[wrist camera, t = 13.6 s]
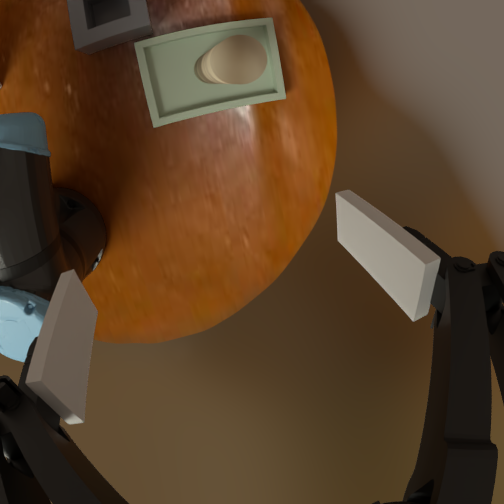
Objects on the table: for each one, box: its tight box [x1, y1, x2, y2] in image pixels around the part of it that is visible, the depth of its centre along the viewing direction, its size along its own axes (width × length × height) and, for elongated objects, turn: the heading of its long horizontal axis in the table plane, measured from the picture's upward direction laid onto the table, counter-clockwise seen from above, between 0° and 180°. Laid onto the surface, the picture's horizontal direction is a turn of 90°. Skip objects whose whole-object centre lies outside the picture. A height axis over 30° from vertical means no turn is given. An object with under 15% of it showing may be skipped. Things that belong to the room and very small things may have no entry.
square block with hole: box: [67, 0, 153, 55], centre depth 26 cm, size 9×9×7 cm
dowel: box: [194, 35, 267, 84], centre depth 29 cm, size 4×4×17 cm
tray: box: [134, 18, 286, 128], centre depth 36 cm, size 18×12×3 cm, turn 100°
